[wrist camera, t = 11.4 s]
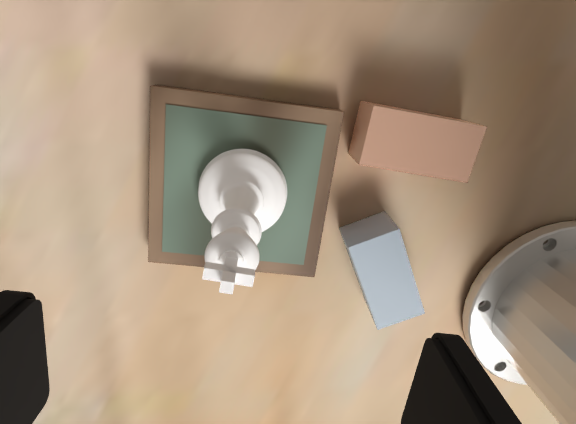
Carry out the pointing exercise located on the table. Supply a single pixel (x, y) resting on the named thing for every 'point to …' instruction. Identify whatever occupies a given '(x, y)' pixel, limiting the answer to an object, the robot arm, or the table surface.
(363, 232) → the slate-blue brick
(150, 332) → the table surface
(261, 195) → the chess piece
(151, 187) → the green-topped square tray
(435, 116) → the terracotta brick
